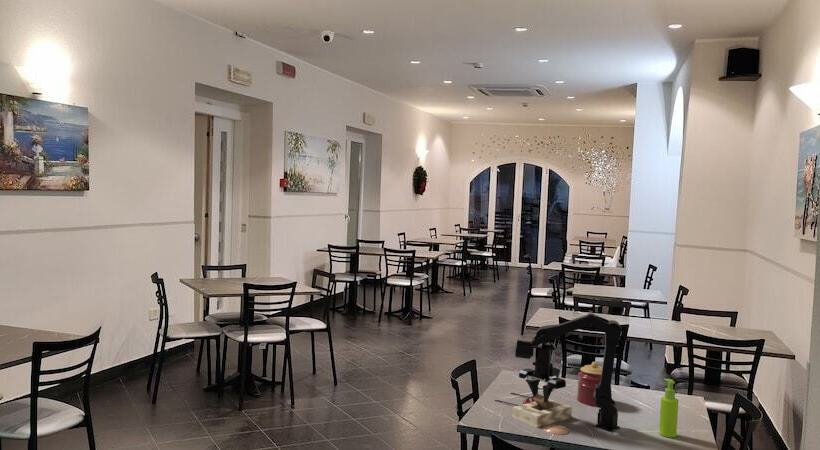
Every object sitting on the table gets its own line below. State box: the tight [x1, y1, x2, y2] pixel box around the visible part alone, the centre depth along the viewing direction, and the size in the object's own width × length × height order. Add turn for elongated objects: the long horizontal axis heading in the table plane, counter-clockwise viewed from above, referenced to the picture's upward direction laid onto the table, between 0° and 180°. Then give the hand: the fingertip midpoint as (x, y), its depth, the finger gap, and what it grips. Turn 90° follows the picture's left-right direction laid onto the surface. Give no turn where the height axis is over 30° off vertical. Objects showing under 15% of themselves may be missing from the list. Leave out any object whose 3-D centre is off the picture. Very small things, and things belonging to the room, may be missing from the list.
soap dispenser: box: [658, 378, 679, 438], centre depth 233 cm, size 6×7×20 cm
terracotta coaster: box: [542, 423, 569, 436], centre depth 232 cm, size 9×9×1 cm
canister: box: [576, 361, 603, 408], centre depth 266 cm, size 13×13×18 cm
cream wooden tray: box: [512, 398, 573, 428], centre depth 244 cm, size 20×12×5 cm, turn 128°
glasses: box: [493, 392, 535, 406], centre depth 262 cm, size 14×16×5 cm
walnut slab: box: [533, 393, 553, 410], centre depth 244 cm, size 8×4×2 cm
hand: (540, 400), depth 243 cm, fingers closed on walnut slab, 4 cm apart
